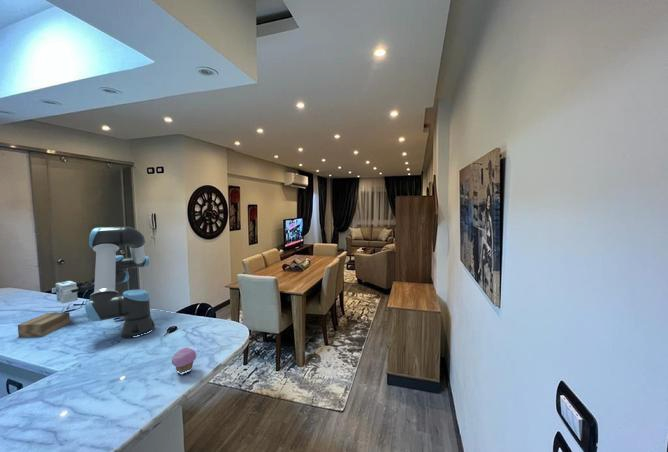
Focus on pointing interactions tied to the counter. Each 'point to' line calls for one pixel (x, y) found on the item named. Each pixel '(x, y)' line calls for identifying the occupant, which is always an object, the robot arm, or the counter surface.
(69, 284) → the light bulb box
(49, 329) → the walnut block
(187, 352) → the cupcake
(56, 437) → the counter surface
